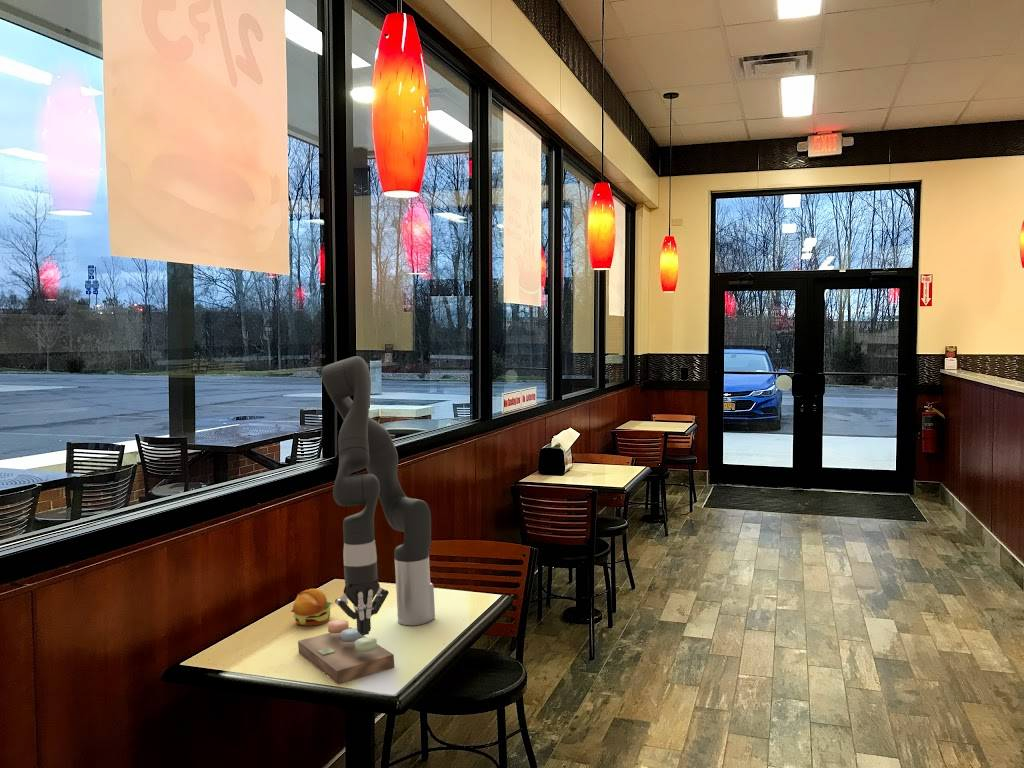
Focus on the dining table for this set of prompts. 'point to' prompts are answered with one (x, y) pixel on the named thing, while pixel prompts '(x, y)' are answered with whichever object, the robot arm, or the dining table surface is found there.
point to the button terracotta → (337, 626)
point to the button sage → (365, 644)
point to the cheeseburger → (311, 608)
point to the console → (343, 657)
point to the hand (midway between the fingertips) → (364, 634)
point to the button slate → (350, 635)
